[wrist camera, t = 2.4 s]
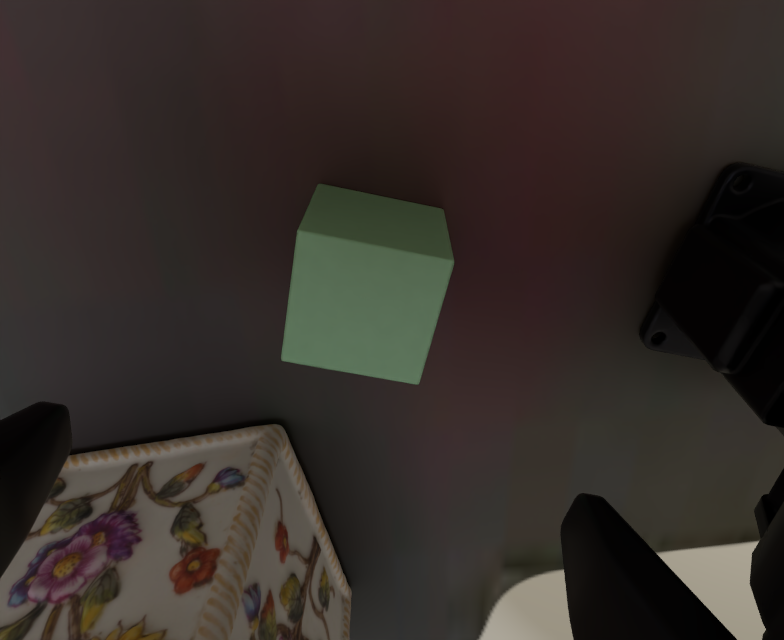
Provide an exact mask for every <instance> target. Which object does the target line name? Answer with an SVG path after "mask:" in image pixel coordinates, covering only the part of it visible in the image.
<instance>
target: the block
mask: <svg viewBox="0 0 784 640" xmlns="http://www.w3.org/2000/svg"><path fill="white" fill-rule="evenodd" d="M453 266H454V257H453V252H452V248H451V243H450V238H449V233H448V228H447V223H446V218H445V214H444V210H443V209H441V208H436V207H431V206H427V205H422V204H417V203H412V202H407V201H402V200H398V199H393V198H388V197H383V196H378V195H373V194H368V193H364V192H359V191H354V190H349V189H344V188H339V187H335V186H330V185H325V184H318V185H317V187H316V189H315V192H314V194H313V196H312V199H311V201H310V203H309V205H308V208H307V210H306V212H305V214H304V217H303V219H302V221H301V224H300V226H299V228H298V230H297V236H296V243H295V251H294V259H293V267H292V275H291V283H290V290H289V298H288V306H287V314H286V322H285V330H284V338H283V345H282V353H281V360H282V361H285V362H291V363H296V364H302V365H308V366H313V367H319V368H325V369H330V370H336V371H342V372H348V373H353V374H359V375H365V376H370V377H376V378H382V379H387V380H393V381H399V382H405V383H410V384H416V385H418V384H419V383H420V379H421V376H422V373H423V369H424V366H425V362H426V359H427V355H428V352H429V348H430V345H431V342H432V338H433V335H434V331H435V328H436V324H437V321H438V318H439V314H440V311H441V307H442V304H443V300H444V297H445V294H446V290H447V287H448V283H449V280H450V276H451V273H452V269H453Z"/></svg>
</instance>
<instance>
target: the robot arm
mask: <svg viewBox="0 0 784 640" xmlns="http://www.w3.org/2000/svg"><path fill="white" fill-rule="evenodd" d="M741 175H744V179H743V182H742V183H741V184H740V185H739V186H737V187H734V188H733V184H734V181H735V180H736V178H737V177H739V176H741ZM655 298H656V301H655V302H654V304H653V306H652V308H651V310H650V312H649V314H648V316H647V318H646V320H645V322H644V324H643V326H642V328H641V330H640V333H639V335H640V339H641V340H642V342H643V343H644V345H645V346H646V347H647V348H648V349H651V350H655V351H660V352H665V353H670V354H676V355H681V356H686V357H692V358H697V359H702V360H706V361H707V362H708V364H709V365H710V366H711V367H712V368H713V370H715V371H717V372H720V373H721V374H722V375H723V376H724V377H725V378H726V380H727V381H728V382H729V383H730V384H731V385H732V387H733V388H734V389H735V390H736V391H737V392H738V394H739V395H740V396H741V397H742V398H743V399H744V401H745V402H746V403H747V404H748V405H749V407H750V408H751V409H752V410H753V411H754V412H755V414H756V415H757V416H758V417H759V418H760V419H761V421H762V422H763V423H765V424H767V425H771V426H776V428H777V429H778V430H779V431H780V432H781V433H782V434H783V436H784V172H782V171H777V170H773V169H769V168H764V167H760V166H755V165H751V164H746V163H735V164H732V165H730V166H729V167H727V168H726V169H725V170H724V171H723V172H722V173H721V175H720V176H719V178H718V180H717V182H716V184H715V186H714V188H713V190H712V192H711V194H710V196H709V198H708V199H707V201H706V203H705V205H704V207H703V209H702V211H701V213H700V215H699V217H698V219H697V221H696V223H695V225H694V226H693V227H692V228H691V229H689V230H688V232H687V234H686V236H685V238H684V240H683V242H682V244H681V246H680V248H679V250H678V252H677V254H676V256H675V257H674V259H673V261H672V263H671V265H670V267H669V269H668V271H667V273H666V275H665V277H664V279H663V281H662V283H661V285H660V287H659V289H658V291H657V293H656V295H655ZM657 332H661V334H660V335H659V336H658V337H656V338H651V337H652V336H653V335H654V334H655V333H657ZM71 447H72V433H71V425H70V416H69V410H68V408H67V407H66V406H64V405H62V404H56V403H50V402H38V403H35V404H33V405H31V406H29V407H27V408H25V409H23V410H21V411H19V412H17V413H14V414H12V415H10V416H8V417H6V418H4V419H2V420H0V578H1V577H2V575H3V574H4V572H5V571H6V569H7V568H8V566H9V565H10V563H11V562H12V560H13V559H14V557H15V555H16V554H17V552H18V551H19V549H20V548H21V546H22V544H23V543H24V541H25V539H26V538H27V536H28V534H29V532H30V530H31V529H32V527H33V525H34V523H35V521H36V519H37V517H38V515H39V513H40V511H41V509H42V507H43V505H44V503H45V501H46V499H47V497H48V495H49V494H50V492H51V490H52V488H53V486H54V484H55V482H56V480H57V478H58V476H59V474H60V472H61V470H62V468H63V466H64V464H65V462H66V460H67V458H68V456H69V454H70V451H71ZM754 513H755V517H756V521H757V525H758V529H759V533H760V537H761V540H760V541H759V543H758V545H757V546H756V548H755V550H754V551H753V553H752V563H751V575H750V586H751V589H752V591H753V595H754V598H755V601H756V604H757V607H758V610H759V613H760V616H761V619H762V622H763V624H764V626H765V628H766V631H765V632H764V634H763V638H762V640H784V469H783V470H782V472H781V474H780V475H779V477H778V479H777V480H776V482H775V484H774V486H773V487H772V489H771V491H770V492H769V494H765V495H763V496H762V497H761V499H760V501H759V502H758V504H757V506H756V507H755V509H754ZM561 544H562V554H563V563H564V573H565V583H566V591H567V601H568V610H569V617H570V623H571V628H572V634H573V638H574V640H737V639H736V638H735V637H734V636H733V635H732V634H731V633H730V632H729V630H727V629H726V628H725V626H724V625H723V624H722V623H721V622H720V621H719V620H718V619H717V618H716V617H715V616H714V615H713V614H712V613H711V611H710V610H709V609H708V608H707V607H706V606H705V605H704V604H703V603H702V602H701V601H700V600H699V599H698V598H697V596H696V595H695V594H694V593H693V592H692V591H691V590H690V589H689V588H688V587H687V586H686V585H685V584H684V583H683V582H682V580H681V579H680V578H679V577H678V576H677V575H676V574H675V573H674V572H673V571H672V570H671V569H670V568H669V567H668V566H667V565H666V564H665V562H664V561H663V560H662V559H661V558H660V557H659V556H658V555H657V554H656V553H655V552H654V551H653V550H652V549H651V548H650V546H649V545H648V544H647V543H646V542H645V541H644V540H643V539H642V538H641V537H640V536H639V535H638V534H637V533H636V532H635V531H634V529H633V528H632V527H631V526H630V525H629V524H628V523H627V522H626V521H625V520H624V519H623V518H622V517H621V516H620V515H619V513H618V512H617V511H616V510H615V509H614V508H613V507H612V506H611V505H610V504H609V503H608V502H607V501H606V500H605V499H604V498H603V497H601V496H597V495H591V494H585V493H580V494H579V495H577V497H576V498H575V500H574V501H573V503H572V505H571V507H570V509H569V511H568V512H567V514H566V516H565V518H564V520H563V522H562V525H561Z"/></svg>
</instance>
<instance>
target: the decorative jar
mask: <svg viewBox="0 0 784 640" xmlns="http://www.w3.org/2000/svg"><path fill="white" fill-rule="evenodd" d="M351 594H352V592H351V588H350V587H349V585H348V583H347V581H346V577H345V575H344V574H343V571H342V568H341V565H340V562H339V560H338V557H337V555H336V553H335V550H334V548H333V545H332V542H331V540H330V538H329V535H328V532H327V530H326V528H325V526H324V523H323V520H322V518H321V515H320V513H319V510H318V508H317V505H316V502H315V499H314V496H313V493H312V492H311V490H310V487H309V484H308V482H307V480H306V478H305V475H304V473H303V471H302V468H301V466H300V464H299V462H298V460H297V458H296V455H295V453H294V450H293V448H292V446H291V443H290V441H289V438H288V436H287V434H286V432H285V430H284V428H283V427H282V426H280V425H277V424H269V425H262V426H253V427H247V428H242V429H237V430H231V431H224V432H219V433H210V434H204V435H198V436H192V437H185V438H177V439H172V440H168V441H160V442H152V443H147V444H139V445H133V446H125V447H120V448H113V449H107V450H100V451H94V452H88V453H81V454H76V455H70V456H68V458H67V460H66V462H65V464H64V466H63V468H62V470H61V472H60V474H59V476H58V478H57V480H56V482H55V484H54V486H53V488H52V490H51V492H50V494H49V495H48V497H47V499H46V501H45V503H44V505H43V507H42V509H41V511H40V513H39V515H38V517H37V519H36V521H35V523H34V525H33V527H32V529H31V530H30V532H29V534H28V536H27V538H26V539H25V541H24V543H23V544H22V546H21V548H20V549H19V551H18V552H17V554H16V555H15V557H14V559H13V560H12V562H11V563H10V565H9V566H8V568H7V569H6V571H5V572H4V574H3V575H2V577H1V578H0V640H349V628H350V610H351Z"/></svg>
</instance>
